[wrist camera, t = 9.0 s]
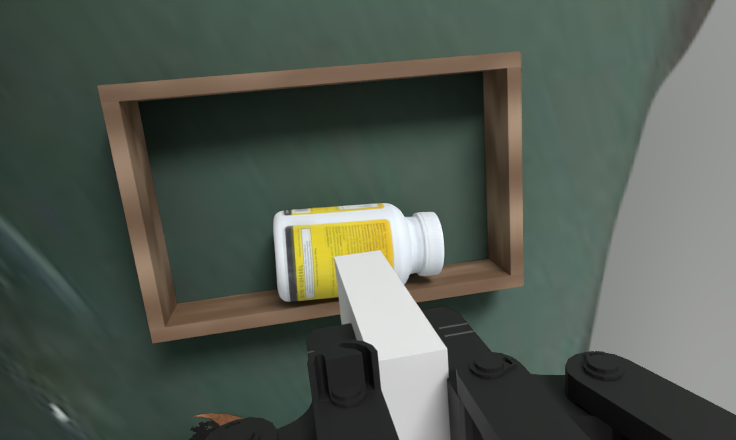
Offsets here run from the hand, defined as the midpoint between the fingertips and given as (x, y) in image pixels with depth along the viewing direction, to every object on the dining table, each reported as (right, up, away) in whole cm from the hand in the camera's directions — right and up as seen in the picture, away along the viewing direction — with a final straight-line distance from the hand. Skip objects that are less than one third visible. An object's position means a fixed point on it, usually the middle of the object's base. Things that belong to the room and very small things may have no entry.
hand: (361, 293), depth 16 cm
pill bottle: (-7, 0, +19) cm, 20 cm away
